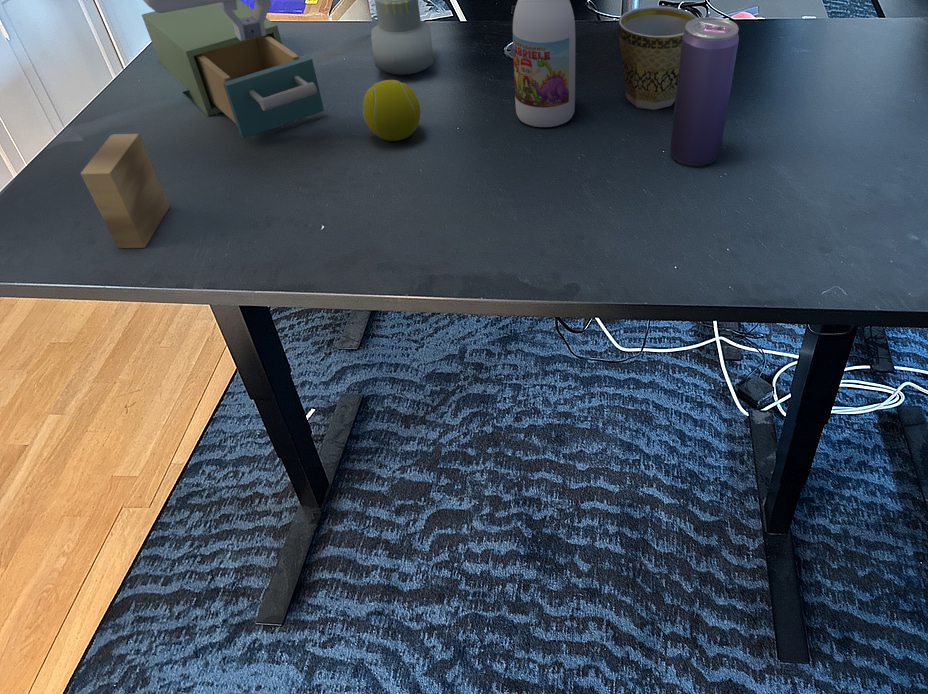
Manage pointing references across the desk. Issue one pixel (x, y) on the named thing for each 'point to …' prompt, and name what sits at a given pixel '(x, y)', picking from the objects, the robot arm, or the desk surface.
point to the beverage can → (703, 89)
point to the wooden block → (126, 190)
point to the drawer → (260, 84)
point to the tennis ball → (391, 110)
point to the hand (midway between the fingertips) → (251, 36)
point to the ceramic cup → (652, 54)
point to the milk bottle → (544, 62)
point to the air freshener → (401, 38)
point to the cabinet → (195, 42)
